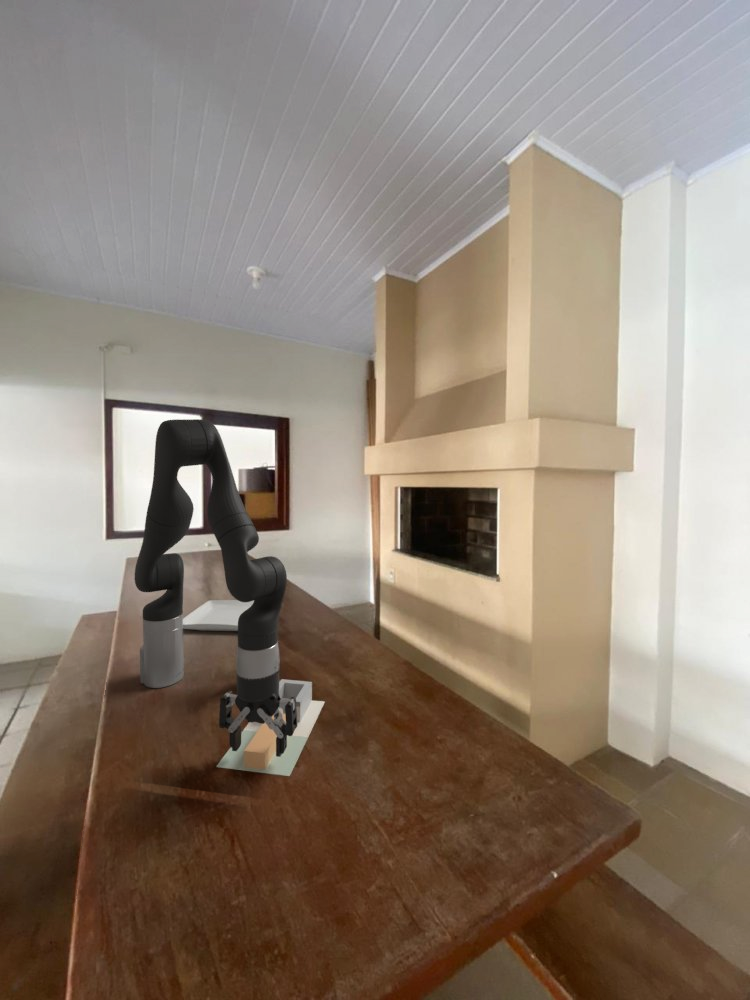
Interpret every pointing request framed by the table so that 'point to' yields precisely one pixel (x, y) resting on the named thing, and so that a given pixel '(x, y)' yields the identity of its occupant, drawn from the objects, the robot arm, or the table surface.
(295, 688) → the two-tone mat
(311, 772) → the table surface
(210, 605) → the square plate
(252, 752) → the tan wooden plank
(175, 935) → the table surface
